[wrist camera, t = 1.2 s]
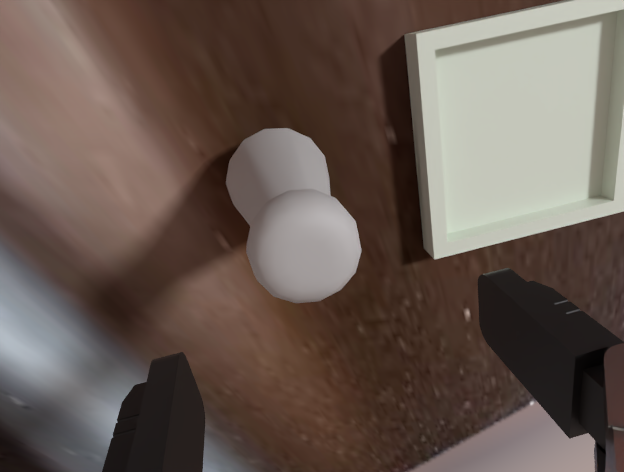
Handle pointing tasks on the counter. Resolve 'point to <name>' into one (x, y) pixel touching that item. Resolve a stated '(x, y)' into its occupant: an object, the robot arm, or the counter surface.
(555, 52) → the tray
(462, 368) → the counter surface
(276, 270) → the salt shaker
